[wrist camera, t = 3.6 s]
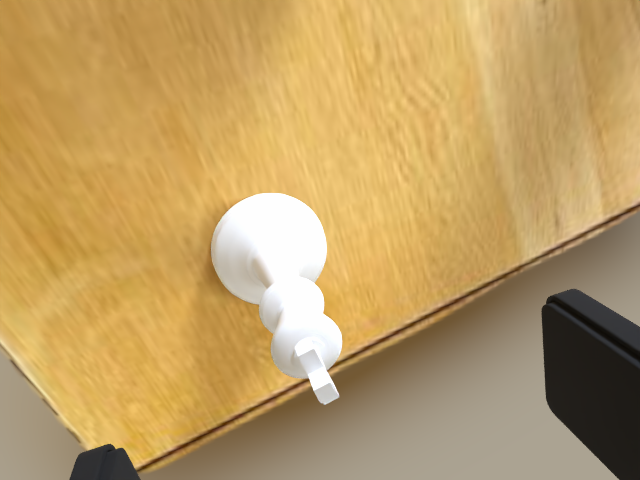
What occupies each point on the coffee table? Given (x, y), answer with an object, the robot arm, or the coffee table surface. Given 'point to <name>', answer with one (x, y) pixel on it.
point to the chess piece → (281, 281)
